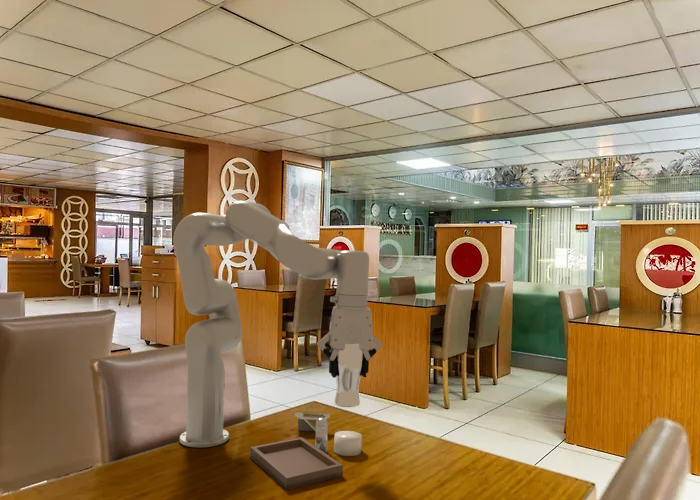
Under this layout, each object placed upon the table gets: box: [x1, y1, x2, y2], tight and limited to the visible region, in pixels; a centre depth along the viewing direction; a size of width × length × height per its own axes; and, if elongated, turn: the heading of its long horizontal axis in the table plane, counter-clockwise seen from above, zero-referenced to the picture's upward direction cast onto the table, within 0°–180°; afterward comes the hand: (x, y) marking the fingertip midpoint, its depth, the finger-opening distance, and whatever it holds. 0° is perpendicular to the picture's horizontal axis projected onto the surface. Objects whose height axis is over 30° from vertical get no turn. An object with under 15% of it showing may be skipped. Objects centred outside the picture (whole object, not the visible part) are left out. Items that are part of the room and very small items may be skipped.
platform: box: [294, 408, 331, 432], centre depth 145 cm, size 12×18×7 cm, turn 87°
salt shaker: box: [314, 418, 329, 454], centre depth 131 cm, size 3×3×8 cm
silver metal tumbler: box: [334, 343, 364, 408], centre depth 124 cm, size 7×7×15 cm
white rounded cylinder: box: [333, 430, 363, 457], centre depth 131 cm, size 7×7×4 cm
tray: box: [249, 437, 344, 491], centre depth 121 cm, size 20×14×2 cm
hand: (348, 375), depth 124 cm, fingers closed on silver metal tumbler, 6 cm apart
